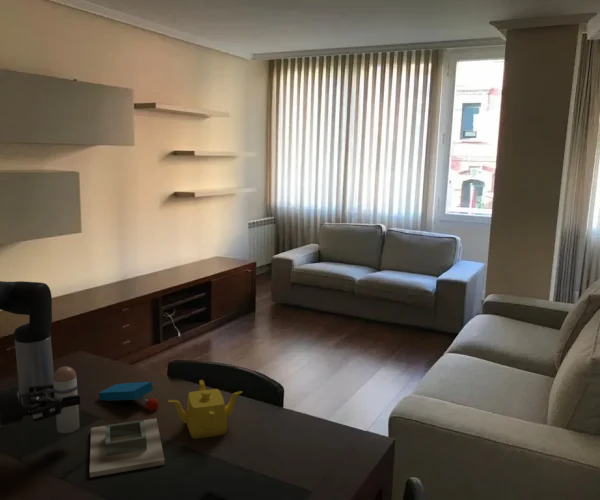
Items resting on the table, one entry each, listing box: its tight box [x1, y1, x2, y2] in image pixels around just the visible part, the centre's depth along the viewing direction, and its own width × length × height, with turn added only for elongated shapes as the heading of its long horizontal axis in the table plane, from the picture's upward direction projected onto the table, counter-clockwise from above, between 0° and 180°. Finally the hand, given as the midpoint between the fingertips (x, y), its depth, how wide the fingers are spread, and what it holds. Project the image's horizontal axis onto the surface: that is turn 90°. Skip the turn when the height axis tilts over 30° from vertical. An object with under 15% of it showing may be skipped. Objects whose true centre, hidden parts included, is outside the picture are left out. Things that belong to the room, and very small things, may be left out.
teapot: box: [167, 379, 243, 440], centre depth 141 cm, size 15×14×10 cm
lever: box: [98, 381, 159, 412], centre depth 154 cm, size 7×7×18 cm
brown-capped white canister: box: [53, 366, 80, 434], centre depth 129 cm, size 5×5×16 cm
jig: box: [89, 417, 166, 478], centre depth 131 cm, size 20×16×4 cm
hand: (77, 394), depth 131 cm, fingers closed on brown-capped white canister, 5 cm apart
